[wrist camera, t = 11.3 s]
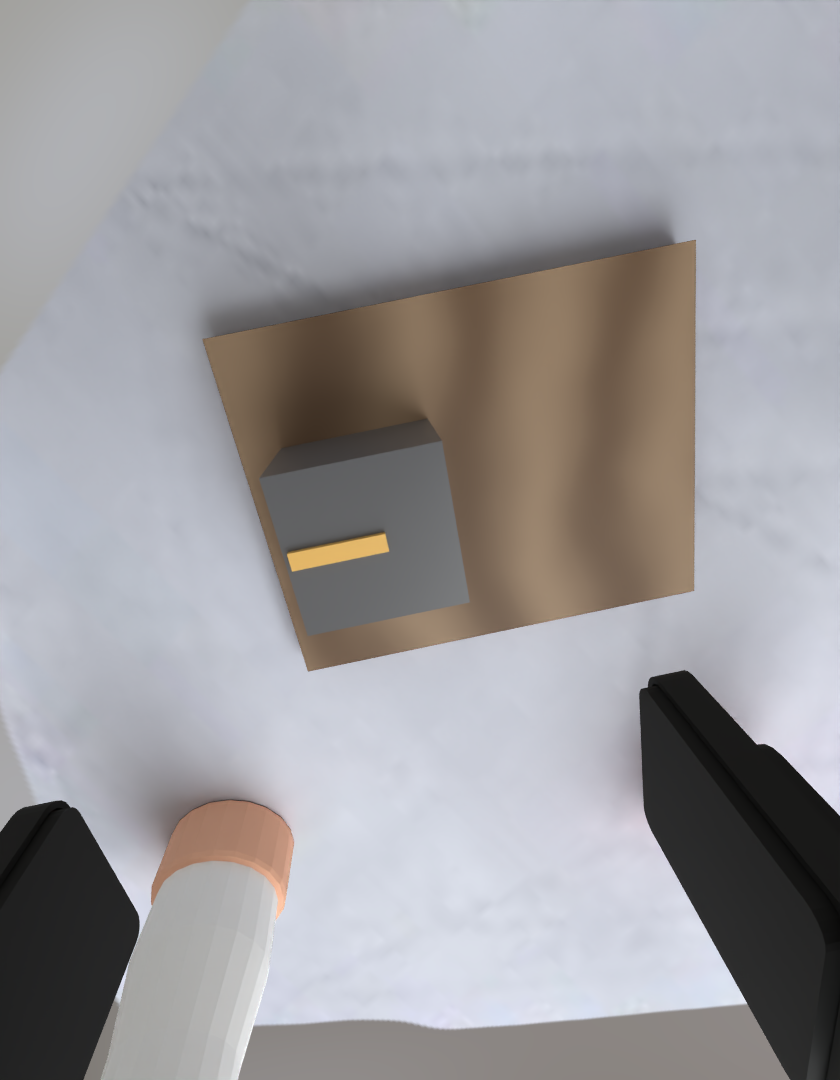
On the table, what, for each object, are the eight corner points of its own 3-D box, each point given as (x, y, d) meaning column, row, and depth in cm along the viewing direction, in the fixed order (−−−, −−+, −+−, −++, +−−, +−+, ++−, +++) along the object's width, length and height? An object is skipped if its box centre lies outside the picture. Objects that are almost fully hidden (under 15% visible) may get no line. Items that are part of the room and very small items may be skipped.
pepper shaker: (185, 788, 31) (-58, 1395, 13) (308, 813, 33) (235, 1390, 15) (160, 875, 34) (-78, 1492, 16) (276, 894, 35) (179, 1480, 17)
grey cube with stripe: (427, 418, 23) (442, 441, 18) (451, 552, 26) (470, 604, 21) (281, 448, 23) (257, 480, 18) (319, 580, 26) (307, 638, 21)
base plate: (676, 245, 23) (695, 239, 22) (678, 578, 29) (693, 590, 28) (212, 338, 23) (202, 339, 21) (311, 654, 29) (308, 671, 27)
